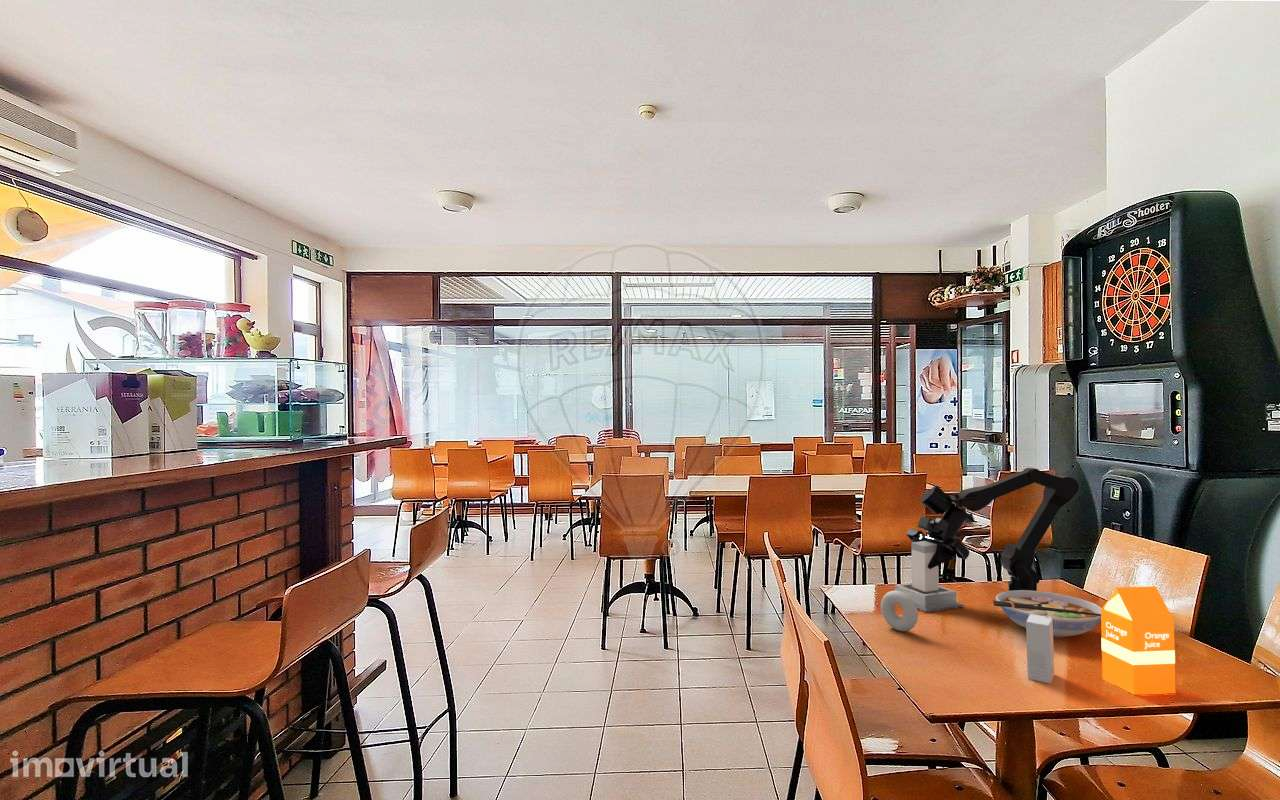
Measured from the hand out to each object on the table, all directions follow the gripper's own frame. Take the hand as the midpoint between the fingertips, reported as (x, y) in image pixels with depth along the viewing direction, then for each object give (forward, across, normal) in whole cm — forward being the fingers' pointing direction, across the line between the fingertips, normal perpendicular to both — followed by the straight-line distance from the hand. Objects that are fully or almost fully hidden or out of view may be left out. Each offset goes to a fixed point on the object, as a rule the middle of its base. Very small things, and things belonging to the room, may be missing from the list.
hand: (921, 565), depth 177 cm
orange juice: (+8, +57, +8) cm, 58 cm away
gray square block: (+4, 0, +6) cm, 7 cm away
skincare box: (+18, +47, -2) cm, 50 cm away
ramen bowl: (0, +30, +16) cm, 34 cm away
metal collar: (+7, 0, +8) cm, 11 cm away
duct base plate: (+7, 0, +8) cm, 11 cm away
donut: (+23, +15, -8) cm, 29 cm away
